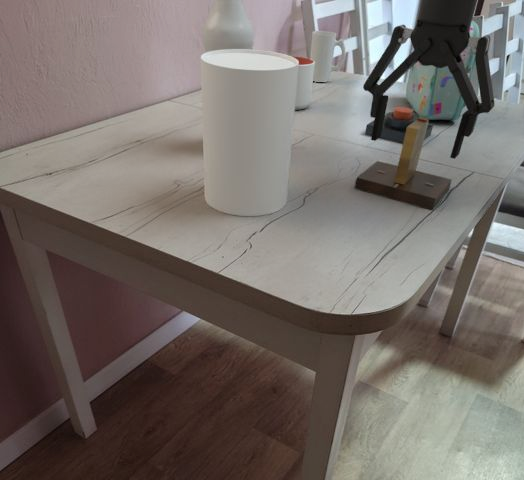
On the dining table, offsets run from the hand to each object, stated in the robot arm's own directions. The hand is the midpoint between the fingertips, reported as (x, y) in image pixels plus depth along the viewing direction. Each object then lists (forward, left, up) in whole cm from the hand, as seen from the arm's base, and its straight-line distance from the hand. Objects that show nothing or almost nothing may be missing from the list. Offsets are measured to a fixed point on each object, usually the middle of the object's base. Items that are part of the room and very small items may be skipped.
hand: (413, 147), depth 81 cm
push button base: (+11, -29, -7) cm, 32 cm away
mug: (+46, -63, -7) cm, 78 cm away
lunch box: (+11, -53, -7) cm, 55 cm away
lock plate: (0, 0, -7) cm, 7 cm away
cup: (+41, -33, -7) cm, 53 cm away
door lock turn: (0, 0, -5) cm, 5 cm away
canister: (+20, +20, -7) cm, 30 cm away
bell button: (+11, -29, -4) cm, 31 cm away
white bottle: (+36, +2, -7) cm, 37 cm away
